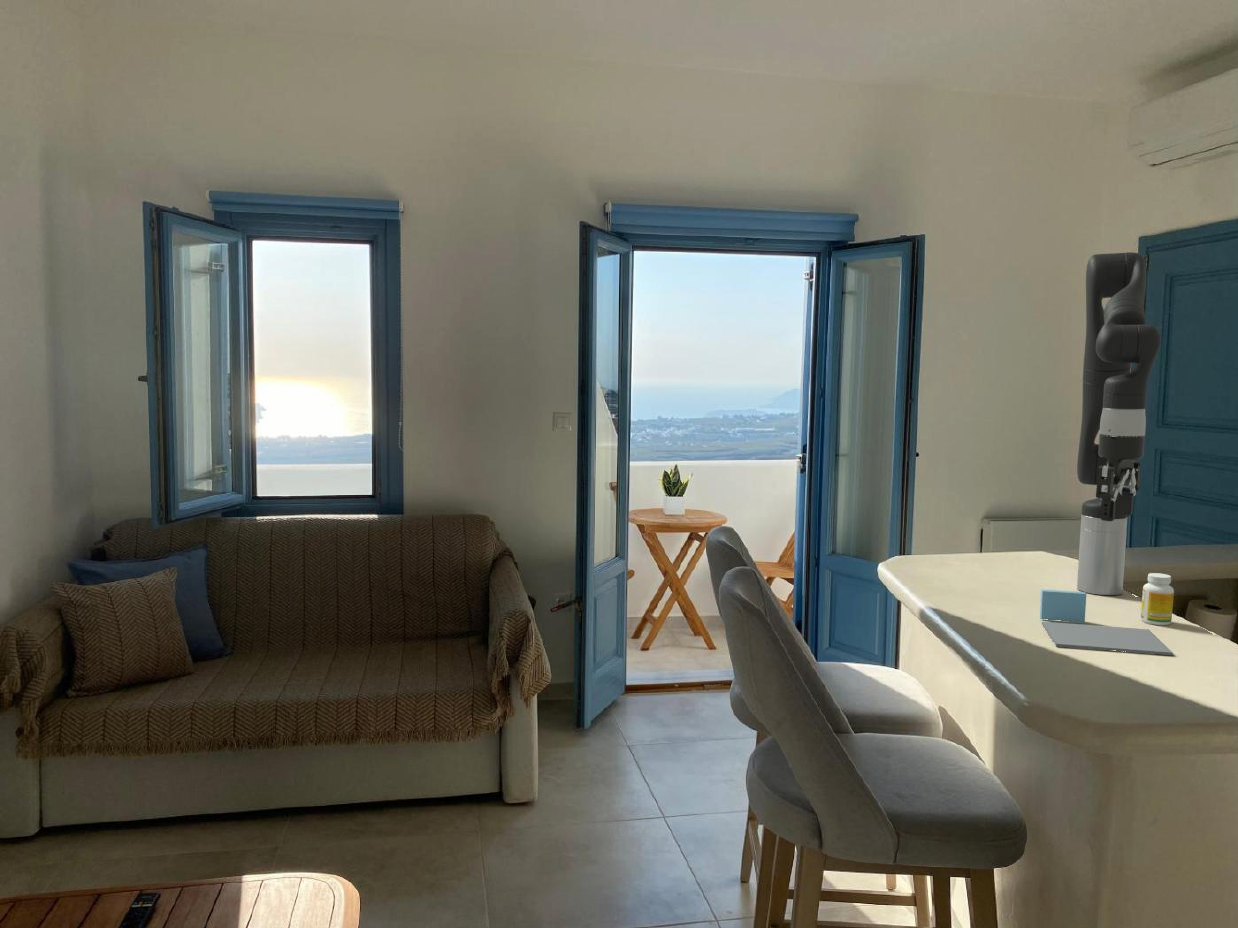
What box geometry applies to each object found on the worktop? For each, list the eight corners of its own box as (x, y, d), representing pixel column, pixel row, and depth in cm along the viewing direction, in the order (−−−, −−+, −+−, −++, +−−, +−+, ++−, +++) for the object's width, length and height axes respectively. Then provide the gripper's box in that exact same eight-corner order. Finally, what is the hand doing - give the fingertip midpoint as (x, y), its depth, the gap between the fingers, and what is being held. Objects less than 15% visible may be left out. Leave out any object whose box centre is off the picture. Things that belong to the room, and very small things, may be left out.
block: (1039, 618, 191) (1041, 589, 190) (1082, 621, 189) (1084, 591, 188) (1041, 620, 189) (1042, 591, 188) (1084, 623, 187) (1086, 593, 186)
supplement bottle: (1134, 619, 190) (1137, 572, 189) (1156, 617, 191) (1159, 571, 190) (1155, 626, 185) (1159, 578, 184) (1178, 624, 186) (1181, 577, 185)
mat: (1041, 624, 186) (1041, 621, 186) (1148, 632, 181) (1148, 629, 181) (1056, 646, 171) (1056, 643, 171) (1172, 655, 166) (1172, 652, 166)
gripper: (1116, 428, 183) (1110, 510, 185) (1085, 433, 174) (1080, 519, 176) (1158, 431, 178) (1152, 516, 180) (1128, 436, 168) (1122, 525, 170)
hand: (1116, 517), depth 178 cm, fingers open, 8 cm apart
